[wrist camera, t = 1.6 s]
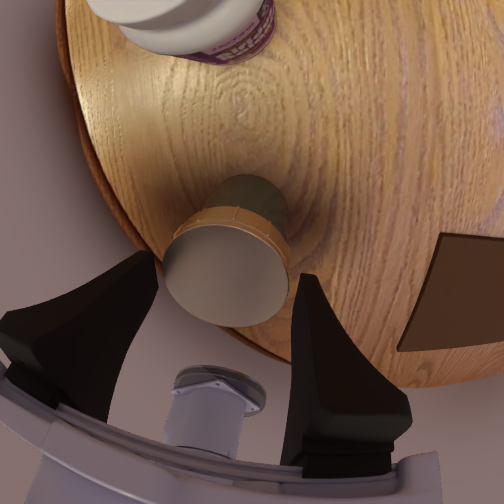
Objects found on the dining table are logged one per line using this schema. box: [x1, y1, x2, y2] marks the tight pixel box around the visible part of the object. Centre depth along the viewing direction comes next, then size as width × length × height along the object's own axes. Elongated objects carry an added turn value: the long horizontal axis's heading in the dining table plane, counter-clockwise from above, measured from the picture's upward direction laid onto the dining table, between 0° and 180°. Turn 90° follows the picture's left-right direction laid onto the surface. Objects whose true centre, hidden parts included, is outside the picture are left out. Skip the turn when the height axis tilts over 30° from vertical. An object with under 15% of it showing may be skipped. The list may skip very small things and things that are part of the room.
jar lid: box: [162, 206, 291, 327], centre depth 13 cm, size 6×6×2 cm
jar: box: [199, 175, 288, 242], centre depth 15 cm, size 5×5×6 cm
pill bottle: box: [87, 0, 276, 65], centre depth 8 cm, size 5×5×10 cm
